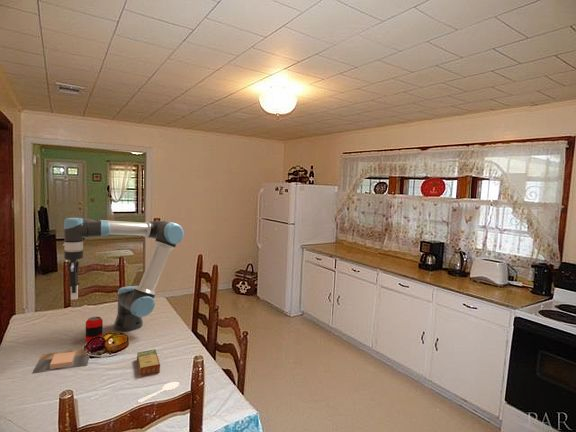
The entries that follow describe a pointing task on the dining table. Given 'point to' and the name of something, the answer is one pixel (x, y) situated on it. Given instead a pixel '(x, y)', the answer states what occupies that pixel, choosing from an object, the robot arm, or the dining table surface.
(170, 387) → the spoon
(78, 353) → the board
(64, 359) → the tile
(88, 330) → the soda can
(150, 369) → the carton
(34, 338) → the dining table surface
